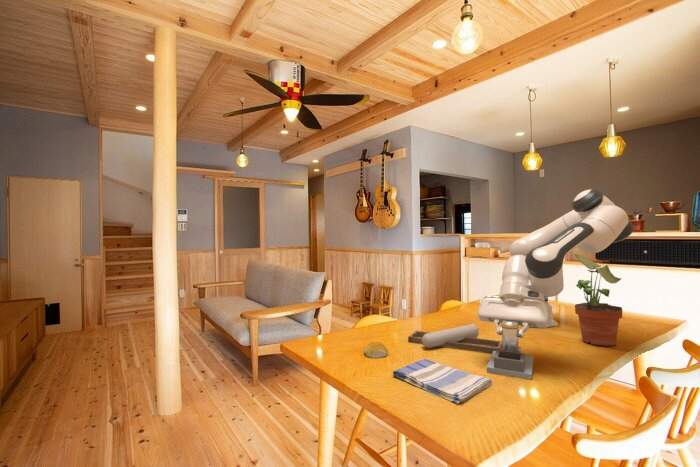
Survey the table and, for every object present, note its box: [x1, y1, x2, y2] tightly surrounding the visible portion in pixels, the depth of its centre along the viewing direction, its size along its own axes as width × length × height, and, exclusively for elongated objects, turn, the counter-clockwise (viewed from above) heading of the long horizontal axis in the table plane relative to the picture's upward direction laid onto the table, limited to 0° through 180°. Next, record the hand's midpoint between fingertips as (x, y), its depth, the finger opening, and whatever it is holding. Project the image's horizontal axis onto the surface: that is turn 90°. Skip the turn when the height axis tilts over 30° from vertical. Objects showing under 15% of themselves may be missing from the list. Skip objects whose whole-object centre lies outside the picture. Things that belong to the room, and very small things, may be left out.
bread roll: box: [363, 341, 389, 359], centre depth 121 cm, size 8×9×4 cm
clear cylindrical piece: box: [500, 320, 520, 352], centre depth 103 cm, size 5×5×8 cm
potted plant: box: [574, 253, 623, 347], centre depth 125 cm, size 16×15×35 cm
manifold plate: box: [486, 345, 534, 381], centre depth 107 cm, size 16×12×4 cm
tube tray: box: [407, 330, 503, 355], centre depth 129 cm, size 9×33×2 cm, turn 60°
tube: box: [421, 323, 480, 349], centre depth 129 cm, size 5×5×25 cm
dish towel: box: [392, 358, 493, 405], centre depth 98 cm, size 17×24×3 cm
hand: (509, 335), depth 103 cm, fingers closed on clear cylindrical piece, 4 cm apart
